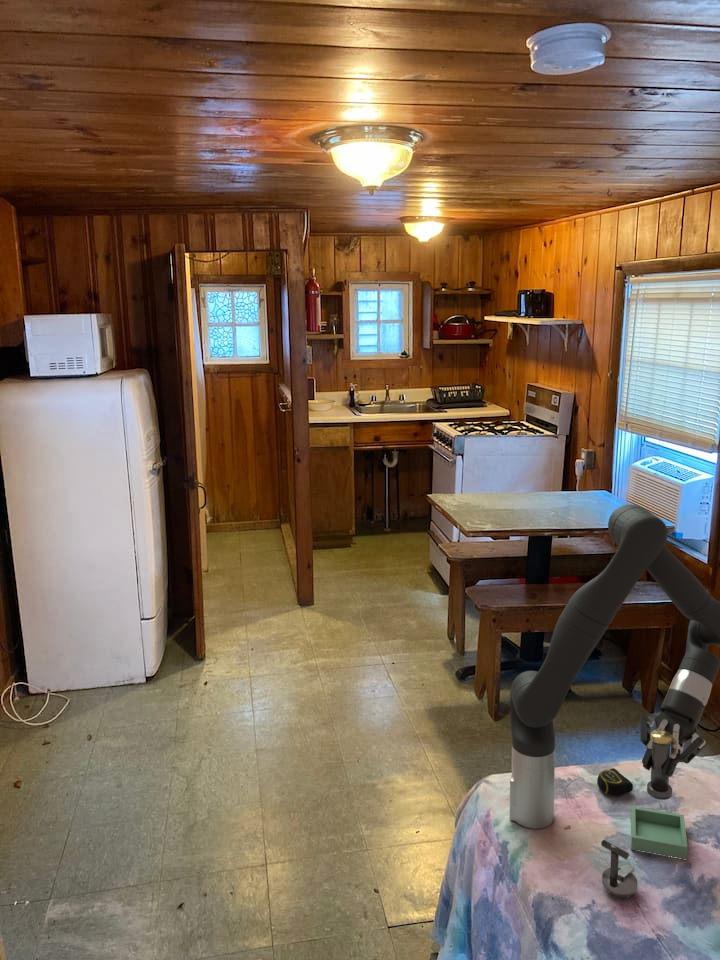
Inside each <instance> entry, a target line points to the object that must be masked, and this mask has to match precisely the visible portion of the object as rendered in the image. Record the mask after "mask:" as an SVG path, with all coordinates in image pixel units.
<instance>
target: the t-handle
mask: <svg viewBox="0 0 720 960" xmlns="http://www.w3.org/2000/svg"><path fill="white" fill-rule="evenodd" d="M600 845H601V847H603V848H604V849H607V850H609V851H610V867H609V868H606V869H604V871H603V872H602V875H601V883H602V886H603V888H604V889H605V890H606V891H607V892H610V893H609V894H610V895H611V896H612V897H614V898H616V899H618V898H619V899H620V900H626V899H628V898H630V897H632V896H634V895H635V894H636V893H637V891H638V883H639V882H638V879H637V877H636V876H635V874H633V873H634V872H635V867H633V866H632V865H630V864H628V863H626V864H625V865H624V866H623V867H619V859H620V858H619V857H621V858H622V859H625V860H627V859H628V858H629V856H630V853H629V852H627V851H626V850H624V849H622V848H620V847H618V846H617V845H614V844H613V843H611V842H609V841H607V840H605V839H603V840H602V841H601V844H600ZM619 899H618V900H619Z"/></svg>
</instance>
